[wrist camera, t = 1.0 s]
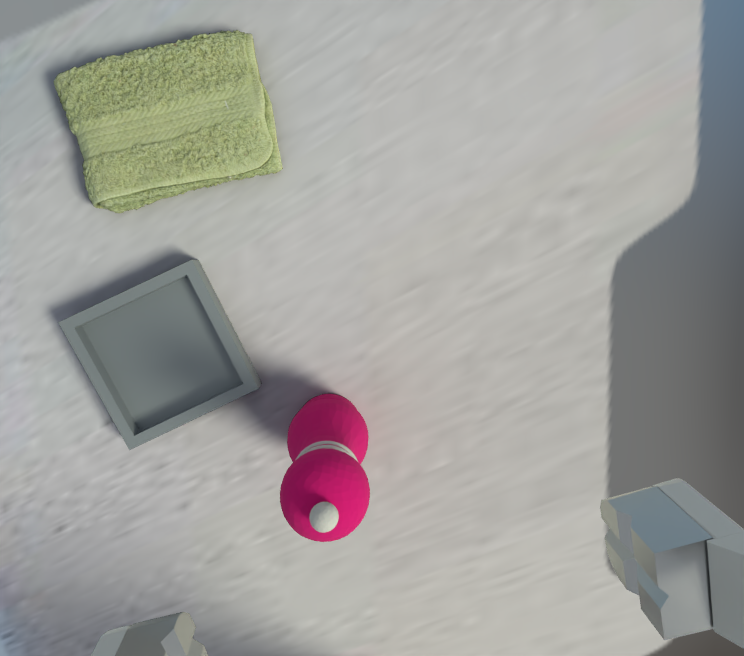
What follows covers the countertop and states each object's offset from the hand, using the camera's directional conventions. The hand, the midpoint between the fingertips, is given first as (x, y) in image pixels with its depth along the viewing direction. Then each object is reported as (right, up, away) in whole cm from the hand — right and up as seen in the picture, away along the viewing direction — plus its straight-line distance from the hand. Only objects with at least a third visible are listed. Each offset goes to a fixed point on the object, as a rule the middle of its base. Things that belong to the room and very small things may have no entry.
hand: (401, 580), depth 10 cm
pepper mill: (-5, -5, +41) cm, 41 cm away
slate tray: (-20, +3, +39) cm, 43 cm away
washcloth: (-18, +23, +37) cm, 47 cm away
